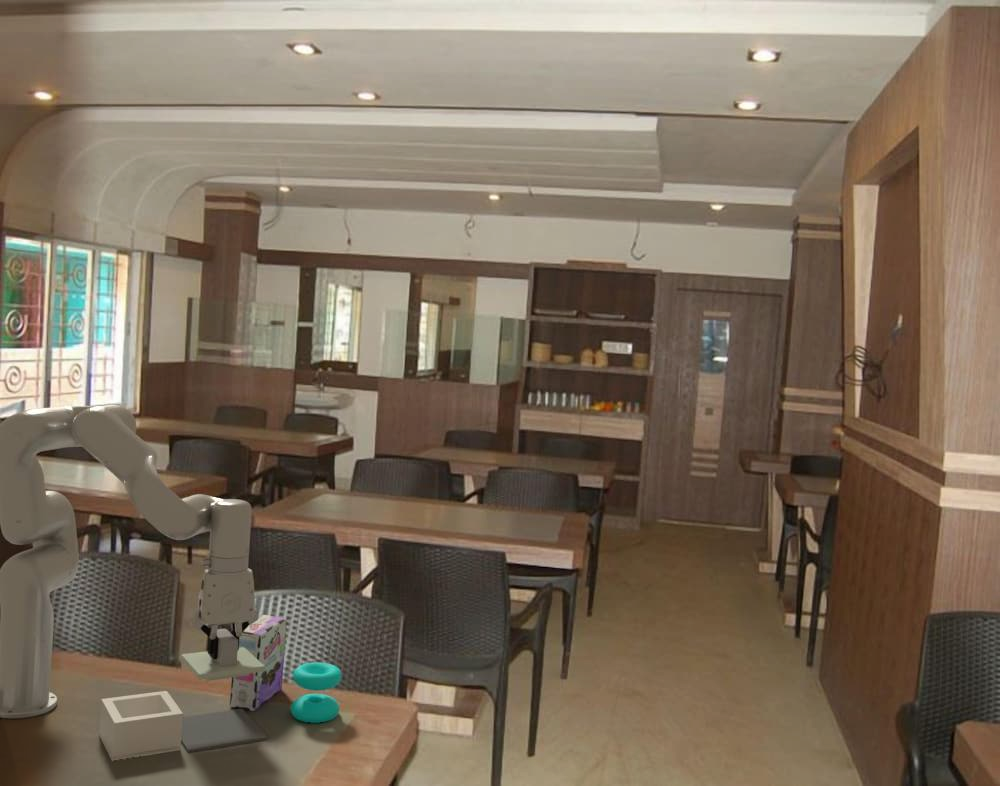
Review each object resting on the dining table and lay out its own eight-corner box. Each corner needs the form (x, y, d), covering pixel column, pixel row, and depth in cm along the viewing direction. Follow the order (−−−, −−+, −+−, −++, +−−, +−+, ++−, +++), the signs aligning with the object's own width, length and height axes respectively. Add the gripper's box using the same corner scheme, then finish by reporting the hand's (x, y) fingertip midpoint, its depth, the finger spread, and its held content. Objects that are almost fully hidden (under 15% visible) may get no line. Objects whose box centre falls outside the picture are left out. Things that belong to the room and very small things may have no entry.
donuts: (331, 658, 202) (349, 673, 193) (327, 703, 202) (346, 721, 194) (286, 663, 196) (303, 679, 188) (283, 710, 197) (300, 728, 188)
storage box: (112, 761, 168) (114, 723, 167) (99, 735, 178) (101, 699, 177) (180, 750, 174) (182, 713, 174) (164, 725, 184) (166, 690, 184)
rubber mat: (188, 752, 173) (188, 749, 173) (167, 721, 186) (167, 719, 186) (266, 739, 182) (266, 736, 182) (241, 711, 194) (242, 708, 194)
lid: (198, 686, 174) (200, 648, 174) (180, 665, 185) (182, 629, 185) (264, 677, 181) (266, 640, 181) (243, 657, 192) (245, 623, 192)
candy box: (254, 712, 194) (260, 634, 193) (228, 707, 195) (234, 630, 195) (282, 689, 208) (288, 616, 207) (258, 685, 209) (263, 613, 208)
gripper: (191, 570, 175) (185, 667, 176) (275, 565, 184) (269, 657, 185) (180, 561, 181) (175, 655, 182) (262, 556, 190) (257, 645, 191)
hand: (222, 655), depth 183 cm, fingers closed on lid, 3 cm apart
